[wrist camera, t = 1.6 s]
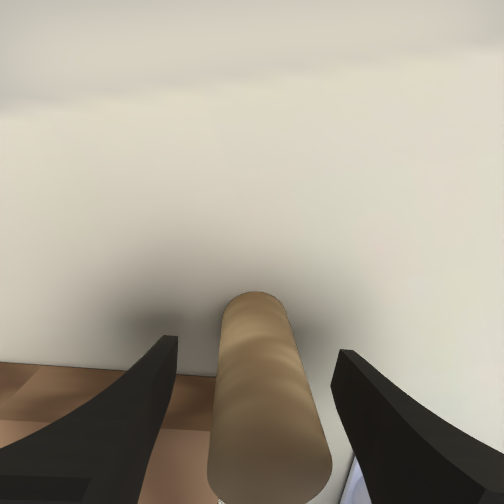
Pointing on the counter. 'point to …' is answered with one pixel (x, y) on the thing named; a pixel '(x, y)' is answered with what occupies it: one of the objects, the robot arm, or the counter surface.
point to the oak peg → (263, 411)
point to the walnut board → (91, 384)
